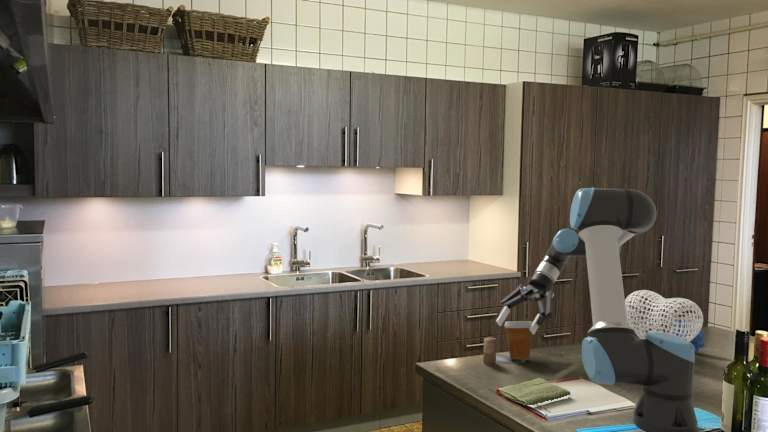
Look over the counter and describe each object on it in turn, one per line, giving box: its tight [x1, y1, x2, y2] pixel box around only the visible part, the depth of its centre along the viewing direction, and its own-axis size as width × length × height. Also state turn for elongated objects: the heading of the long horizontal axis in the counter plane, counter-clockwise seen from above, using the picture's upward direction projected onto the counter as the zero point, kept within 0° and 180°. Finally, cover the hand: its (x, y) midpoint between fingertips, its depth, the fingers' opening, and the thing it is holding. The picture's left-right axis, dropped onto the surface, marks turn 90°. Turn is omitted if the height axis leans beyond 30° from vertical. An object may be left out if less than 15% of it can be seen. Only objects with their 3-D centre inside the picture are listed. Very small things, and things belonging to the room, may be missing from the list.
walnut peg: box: [482, 336, 498, 366], centre depth 211 cm, size 4×4×8 cm
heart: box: [625, 289, 704, 342], centre depth 226 cm, size 28×16×22 cm, turn 29°
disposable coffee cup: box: [503, 320, 533, 360], centre depth 216 cm, size 10×10×12 cm
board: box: [481, 353, 527, 367], centre depth 215 cm, size 20×12×1 cm, turn 140°
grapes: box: [672, 319, 706, 354], centre depth 234 cm, size 12×7×12 cm, turn 45°
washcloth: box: [497, 377, 571, 406], centre depth 186 cm, size 13×18×3 cm
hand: (514, 327), depth 218 cm, fingers open, 13 cm apart
